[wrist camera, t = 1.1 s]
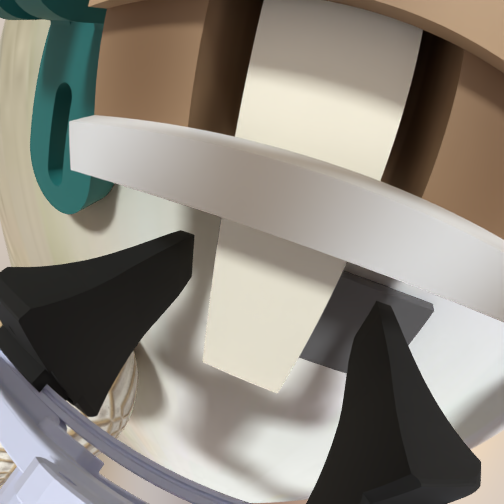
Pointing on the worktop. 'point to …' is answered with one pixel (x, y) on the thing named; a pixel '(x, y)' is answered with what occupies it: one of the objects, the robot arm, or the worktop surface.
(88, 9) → the bracket
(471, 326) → the worktop surface
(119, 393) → the vase
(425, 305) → the mat
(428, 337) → the worktop surface
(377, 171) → the cream flat block piece
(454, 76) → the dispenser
